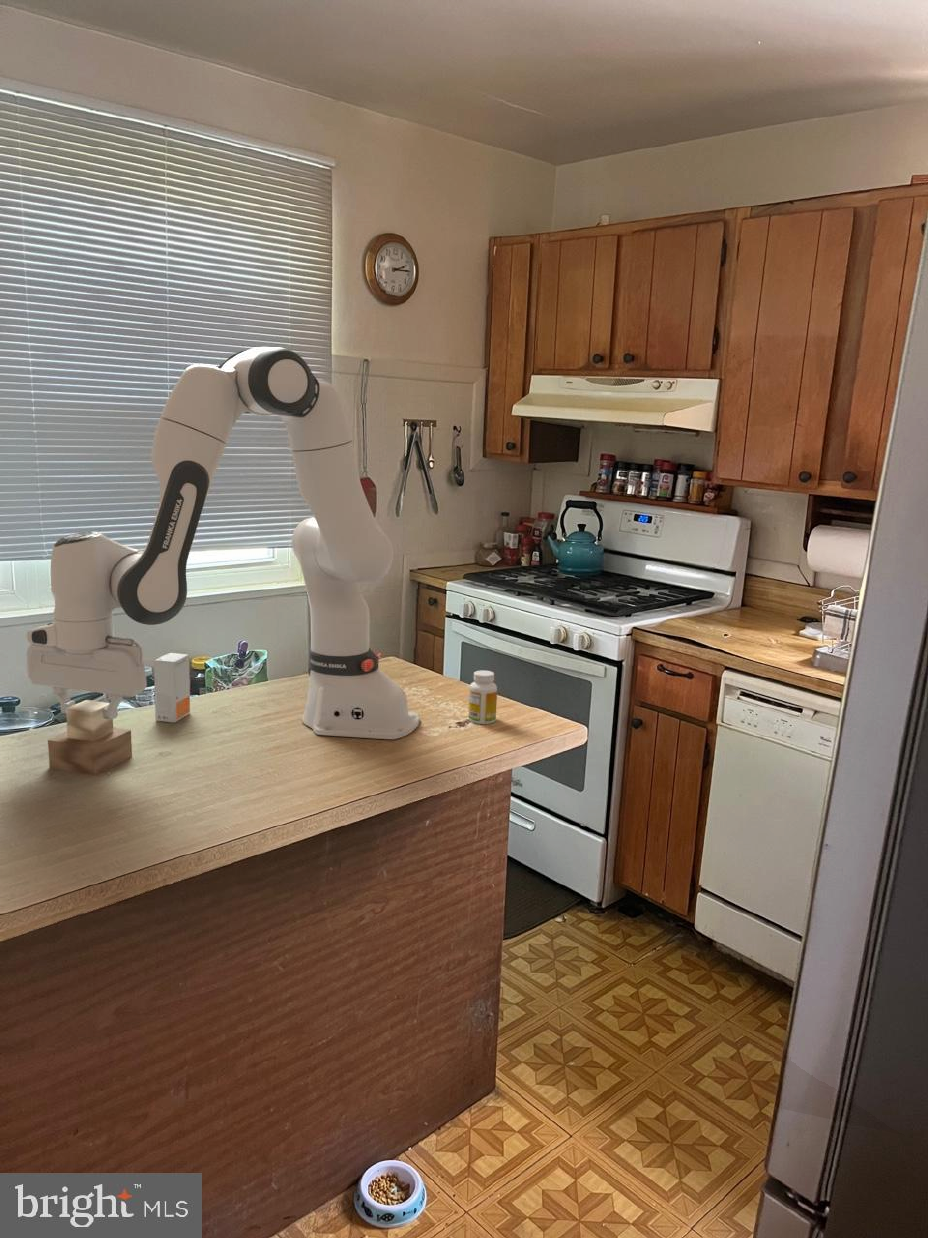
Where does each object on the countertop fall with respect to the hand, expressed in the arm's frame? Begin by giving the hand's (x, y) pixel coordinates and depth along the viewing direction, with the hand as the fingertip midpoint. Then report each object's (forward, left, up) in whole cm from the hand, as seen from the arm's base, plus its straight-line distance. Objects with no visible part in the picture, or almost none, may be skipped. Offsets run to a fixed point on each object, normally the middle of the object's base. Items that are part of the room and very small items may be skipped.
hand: (89, 715), depth 147 cm
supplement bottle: (-56, -44, -8) cm, 72 cm away
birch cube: (0, 0, -3) cm, 3 cm away
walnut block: (0, 0, -8) cm, 8 cm away
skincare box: (0, -24, -8) cm, 25 cm away
